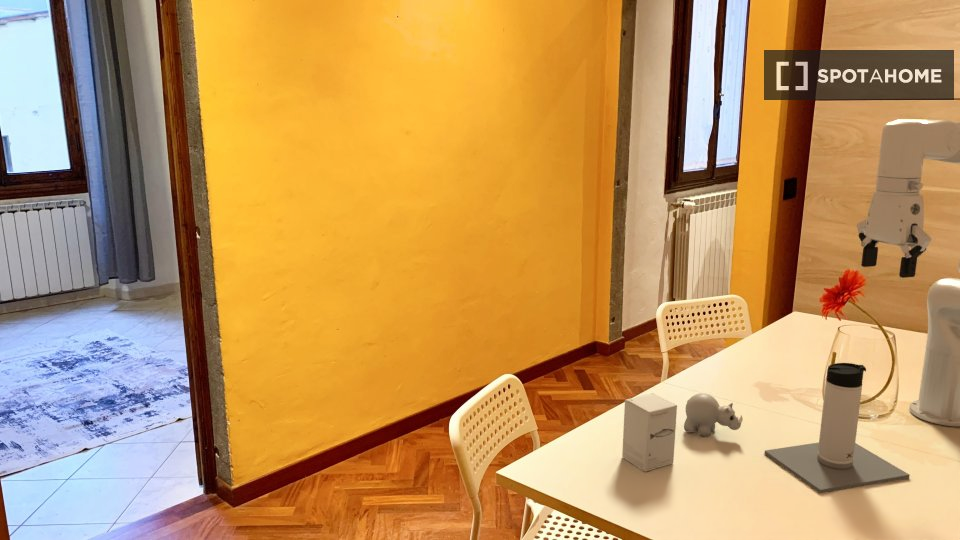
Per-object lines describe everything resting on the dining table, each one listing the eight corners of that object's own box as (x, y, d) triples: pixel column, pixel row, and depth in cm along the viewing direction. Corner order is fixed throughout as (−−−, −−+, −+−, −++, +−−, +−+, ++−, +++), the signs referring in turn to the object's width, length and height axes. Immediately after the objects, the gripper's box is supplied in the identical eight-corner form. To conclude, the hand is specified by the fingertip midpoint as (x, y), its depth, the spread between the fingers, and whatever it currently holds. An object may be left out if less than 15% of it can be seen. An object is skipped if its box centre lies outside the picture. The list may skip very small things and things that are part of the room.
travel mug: (858, 471, 140) (870, 372, 136) (821, 468, 141) (832, 369, 137) (849, 456, 146) (860, 360, 142) (813, 453, 147) (824, 358, 143)
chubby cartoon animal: (735, 448, 152) (738, 409, 150) (678, 433, 158) (681, 396, 157) (745, 435, 157) (748, 398, 155) (690, 421, 164) (693, 385, 162)
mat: (846, 441, 154) (847, 438, 154) (909, 478, 139) (909, 474, 139) (764, 454, 149) (764, 450, 149) (819, 493, 134) (820, 489, 134)
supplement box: (645, 473, 142) (648, 412, 139) (621, 457, 148) (623, 398, 145) (674, 464, 145) (678, 404, 142) (649, 449, 151) (652, 391, 148)
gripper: (951, 190, 136) (939, 280, 140) (879, 180, 152) (869, 261, 156) (918, 191, 134) (907, 282, 138) (848, 182, 150) (840, 263, 154)
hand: (887, 271), depth 147 cm, fingers open, 9 cm apart
